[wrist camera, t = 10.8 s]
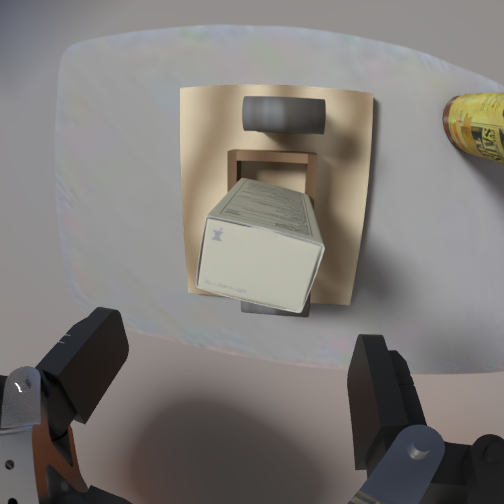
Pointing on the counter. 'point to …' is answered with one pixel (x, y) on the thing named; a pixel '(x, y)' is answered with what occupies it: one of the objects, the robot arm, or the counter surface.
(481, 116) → the sauce bottle
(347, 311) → the counter surface
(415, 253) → the counter surface
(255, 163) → the board
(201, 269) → the skincare box
